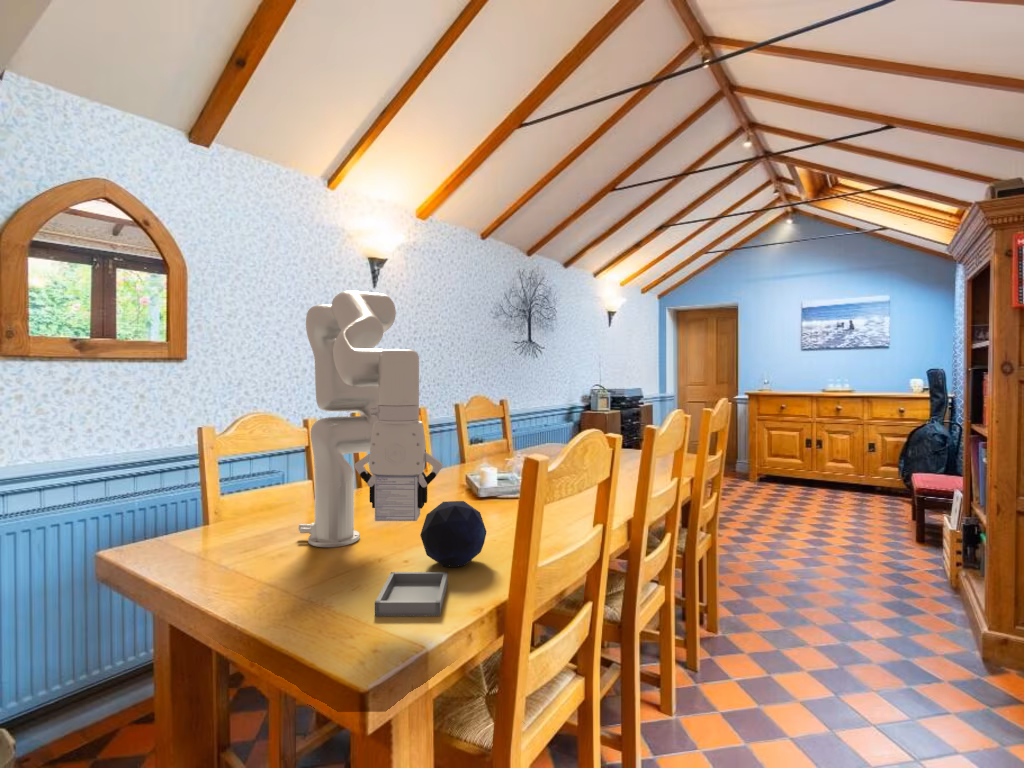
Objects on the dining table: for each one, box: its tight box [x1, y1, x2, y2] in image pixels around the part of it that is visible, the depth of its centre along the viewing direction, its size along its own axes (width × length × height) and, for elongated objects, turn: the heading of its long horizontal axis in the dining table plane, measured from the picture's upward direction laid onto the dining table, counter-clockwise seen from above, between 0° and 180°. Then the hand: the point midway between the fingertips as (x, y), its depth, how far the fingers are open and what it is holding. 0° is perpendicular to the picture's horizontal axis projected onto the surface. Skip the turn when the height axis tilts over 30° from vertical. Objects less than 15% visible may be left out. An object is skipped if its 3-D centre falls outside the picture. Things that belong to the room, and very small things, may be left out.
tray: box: [374, 571, 449, 617], centre depth 105 cm, size 12×15×2 cm
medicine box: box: [374, 476, 421, 522], centre depth 103 cm, size 8×4×9 cm, turn 91°
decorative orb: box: [420, 500, 487, 568], centre depth 124 cm, size 14×15×15 cm
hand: (398, 506), depth 104 cm, fingers closed on medicine box, 8 cm apart
